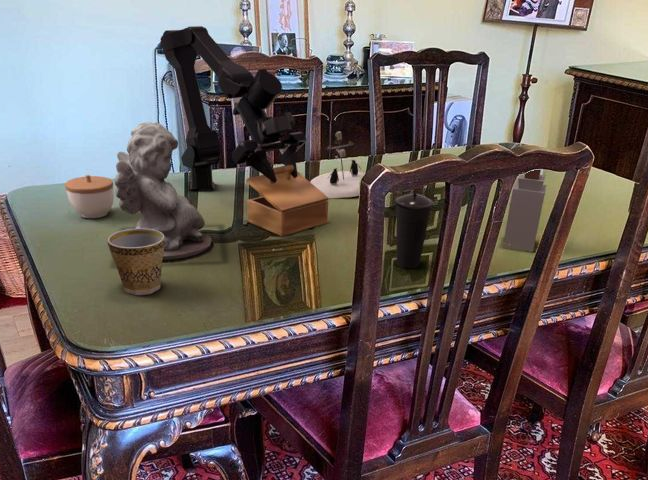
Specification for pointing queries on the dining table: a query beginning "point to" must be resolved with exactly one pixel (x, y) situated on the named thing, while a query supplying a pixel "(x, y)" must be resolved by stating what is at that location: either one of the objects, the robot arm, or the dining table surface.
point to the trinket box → (90, 195)
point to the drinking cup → (411, 228)
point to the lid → (287, 190)
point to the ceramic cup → (138, 259)
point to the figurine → (339, 177)
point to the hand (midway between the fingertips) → (285, 179)
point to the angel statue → (159, 193)
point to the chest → (286, 216)
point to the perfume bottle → (525, 211)
